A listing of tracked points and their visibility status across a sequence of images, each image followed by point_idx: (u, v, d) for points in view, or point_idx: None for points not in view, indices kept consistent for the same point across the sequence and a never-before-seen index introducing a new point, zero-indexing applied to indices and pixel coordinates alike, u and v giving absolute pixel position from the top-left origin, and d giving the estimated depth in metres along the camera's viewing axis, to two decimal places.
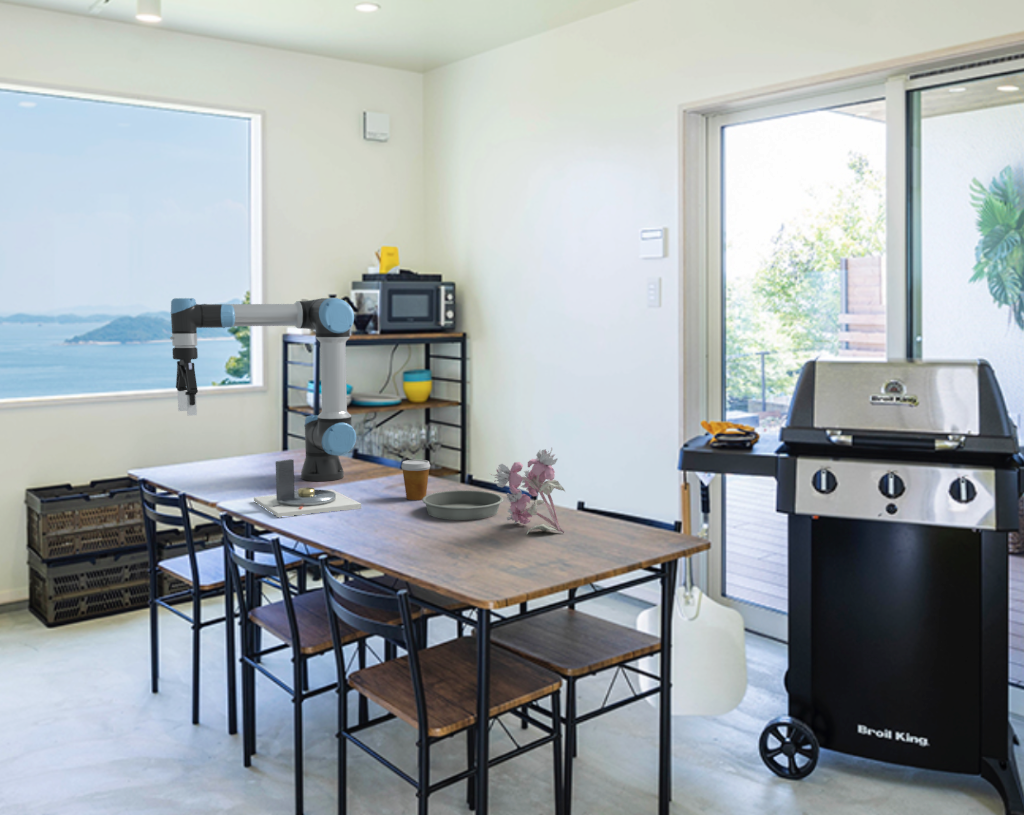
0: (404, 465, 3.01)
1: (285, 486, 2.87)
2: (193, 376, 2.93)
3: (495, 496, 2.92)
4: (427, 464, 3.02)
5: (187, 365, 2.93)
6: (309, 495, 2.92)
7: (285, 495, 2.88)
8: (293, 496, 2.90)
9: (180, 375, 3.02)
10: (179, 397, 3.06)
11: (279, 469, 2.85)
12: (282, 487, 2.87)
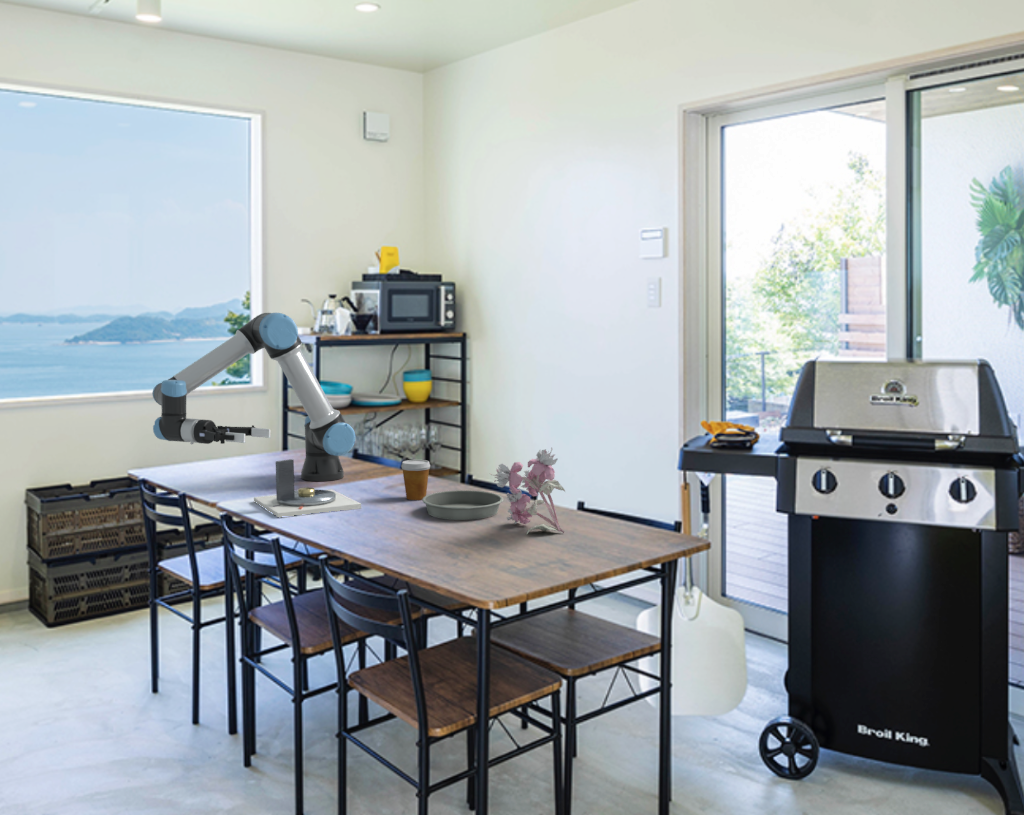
0: (404, 465, 3.01)
1: (285, 486, 2.87)
2: (207, 433, 2.86)
3: (495, 496, 2.92)
4: (427, 464, 3.02)
5: (200, 437, 2.89)
6: (309, 495, 2.92)
7: (285, 495, 2.88)
8: (293, 496, 2.90)
9: None
10: (256, 435, 2.98)
11: (279, 469, 2.85)
12: (282, 487, 2.87)
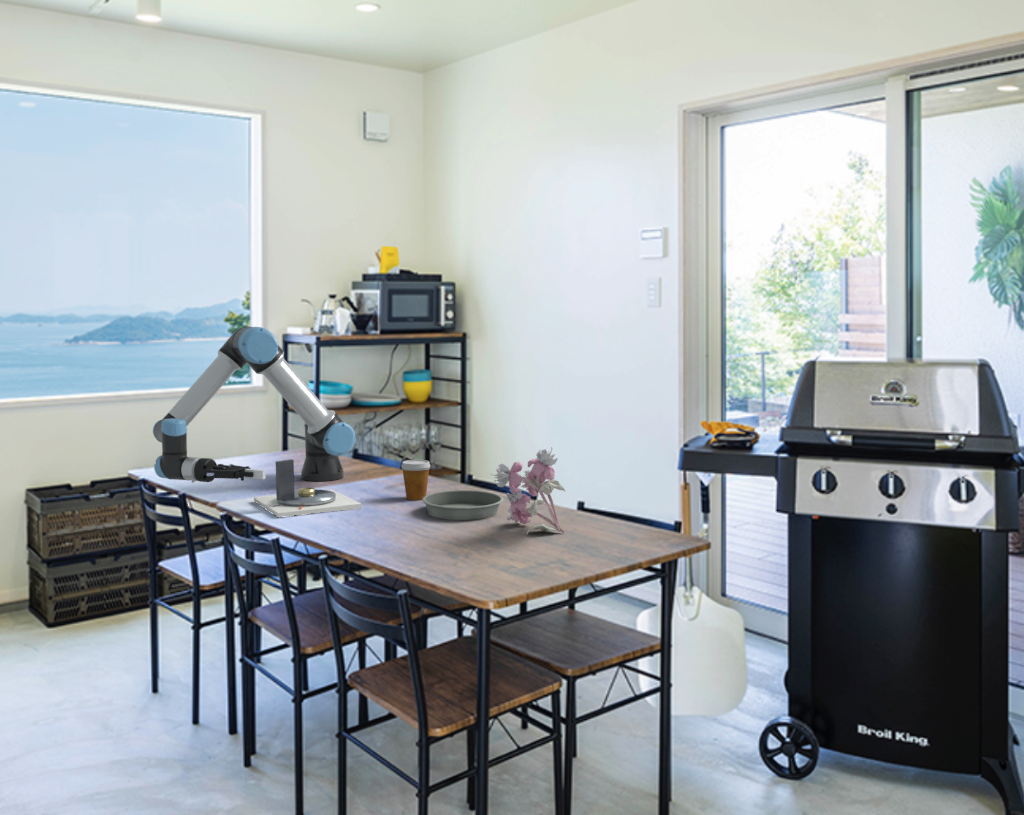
0: (404, 465, 3.01)
1: (285, 486, 2.87)
2: (221, 472, 2.90)
3: (495, 496, 2.92)
4: (427, 464, 3.02)
5: (209, 477, 2.90)
6: (309, 495, 2.92)
7: (285, 495, 2.88)
8: (293, 496, 2.90)
9: None
10: None
11: (279, 469, 2.85)
12: (282, 487, 2.87)
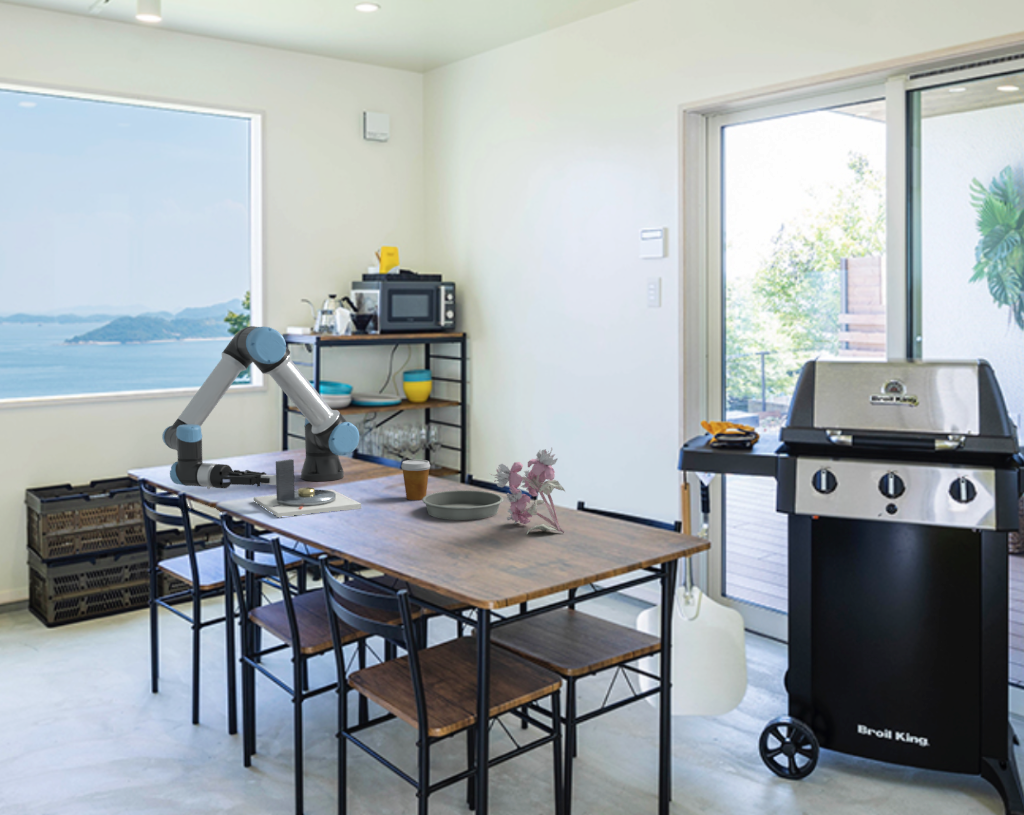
0: (404, 465, 3.01)
1: (285, 486, 2.87)
2: (237, 478, 2.88)
3: (495, 496, 2.92)
4: (427, 464, 3.02)
5: (225, 483, 2.88)
6: (309, 495, 2.92)
7: (285, 495, 2.88)
8: (293, 496, 2.90)
9: None
10: None
11: (280, 470, 2.85)
12: (282, 487, 2.87)
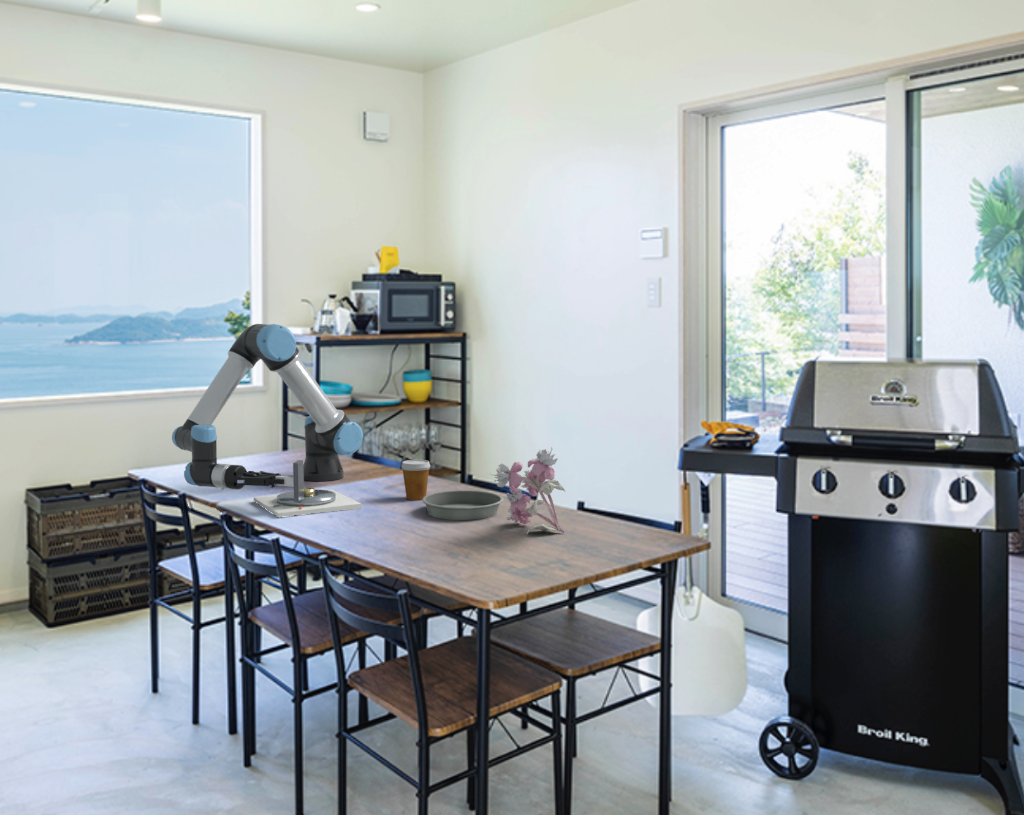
0: (404, 465, 3.01)
1: (300, 487, 2.86)
2: (251, 479, 2.86)
3: (494, 496, 2.92)
4: (427, 464, 3.02)
5: (239, 484, 2.86)
6: (313, 494, 2.94)
7: (301, 496, 2.86)
8: (303, 497, 2.89)
9: None
10: None
11: (298, 471, 2.83)
12: (299, 488, 2.85)
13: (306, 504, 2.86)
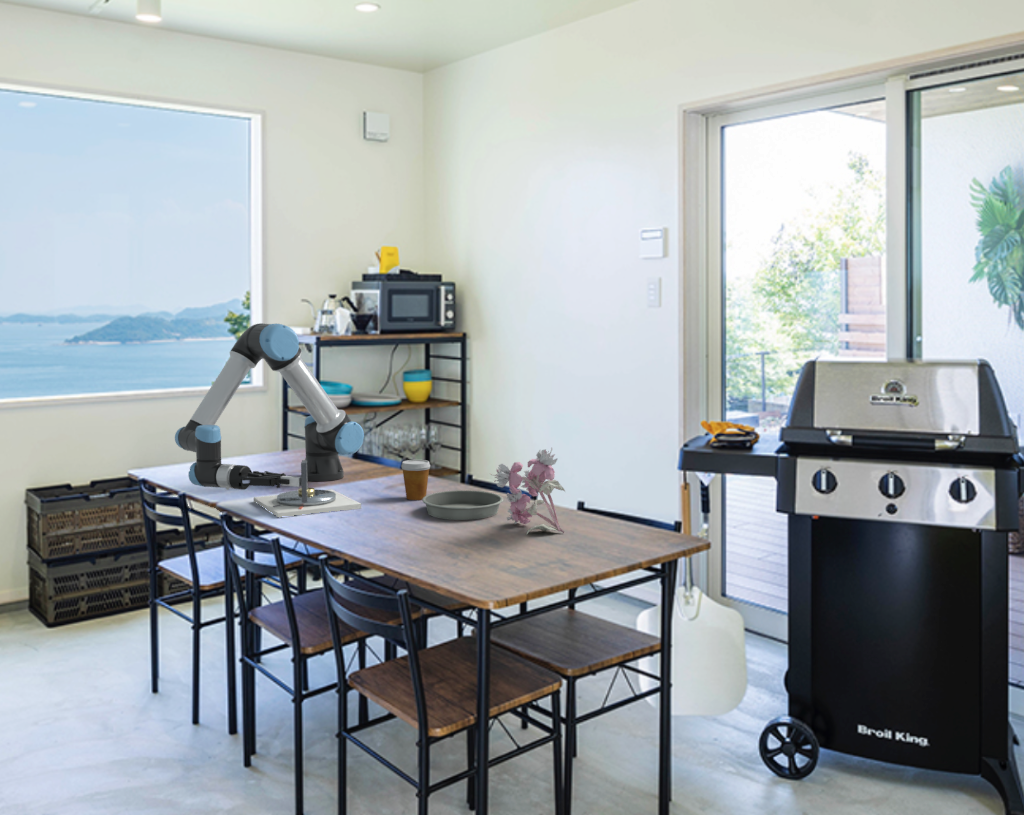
0: (404, 465, 3.01)
1: None
2: (257, 480, 2.86)
3: (495, 496, 2.92)
4: (427, 464, 3.02)
5: (245, 484, 2.86)
6: (314, 494, 2.94)
7: (307, 496, 2.86)
8: None
9: None
10: None
11: (306, 471, 2.84)
12: None
13: (313, 504, 2.87)
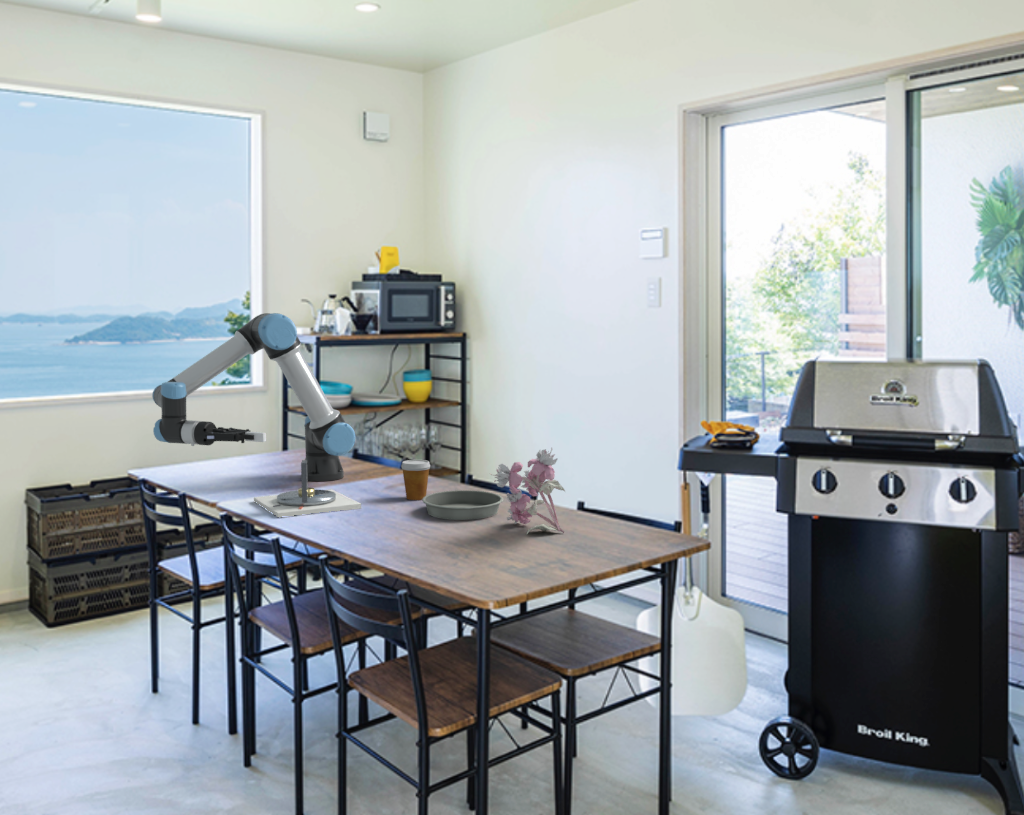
0: (404, 465, 3.01)
1: None
2: (221, 435, 2.89)
3: (494, 496, 2.92)
4: (427, 464, 3.02)
5: (209, 440, 2.89)
6: (314, 494, 2.94)
7: (307, 496, 2.86)
8: None
9: None
10: None
11: (306, 471, 2.84)
12: None
13: (313, 504, 2.87)
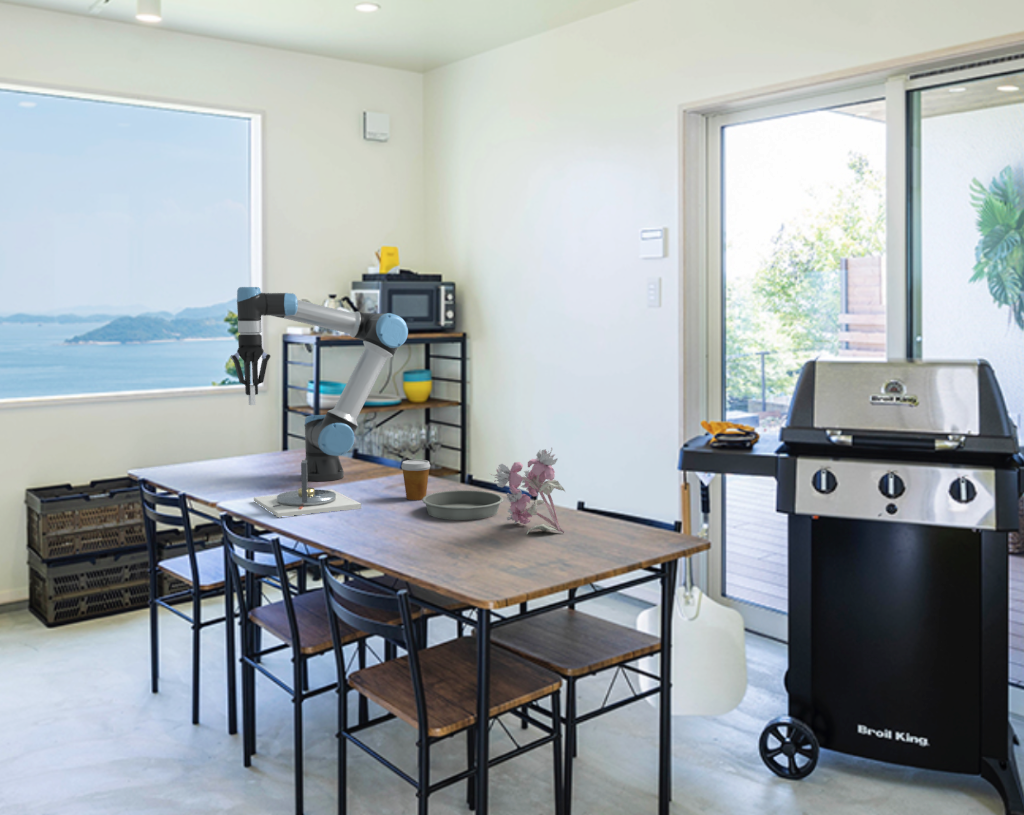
0: (404, 465, 3.01)
1: None
2: (237, 368, 3.09)
3: (494, 496, 2.92)
4: (427, 464, 3.02)
5: (231, 358, 3.09)
6: (314, 494, 2.94)
7: (307, 496, 2.86)
8: None
9: (252, 362, 3.13)
10: None
11: (306, 471, 2.84)
12: None
13: (313, 504, 2.87)
